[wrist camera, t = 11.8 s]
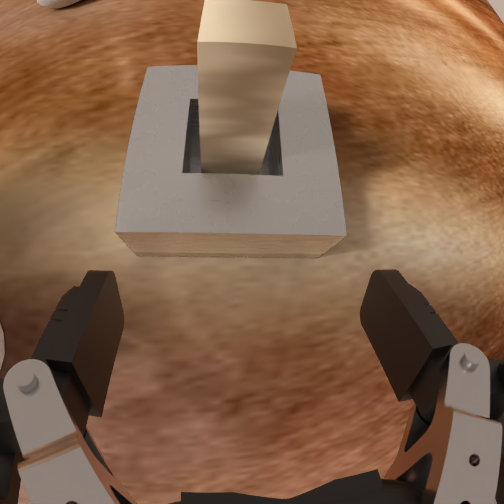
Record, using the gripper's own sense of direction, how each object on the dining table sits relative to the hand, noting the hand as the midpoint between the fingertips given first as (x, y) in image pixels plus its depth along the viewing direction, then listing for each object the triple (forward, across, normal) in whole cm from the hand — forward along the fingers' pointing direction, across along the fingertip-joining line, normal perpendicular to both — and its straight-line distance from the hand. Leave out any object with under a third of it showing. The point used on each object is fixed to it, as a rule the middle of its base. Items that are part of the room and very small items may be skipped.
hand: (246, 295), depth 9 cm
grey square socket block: (+14, 0, 0) cm, 14 cm away
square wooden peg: (+14, 0, 0) cm, 14 cm away
